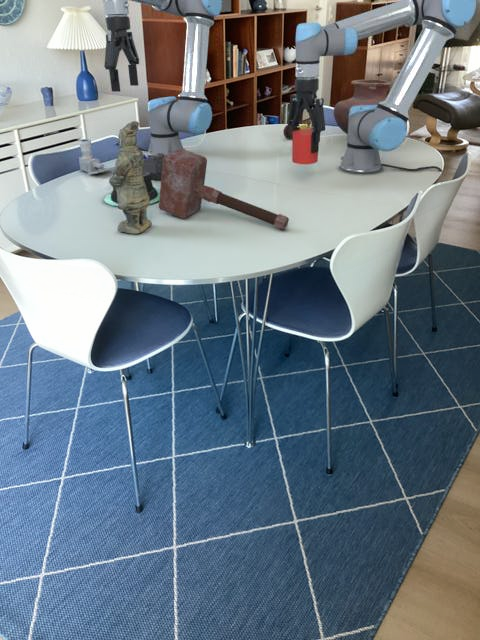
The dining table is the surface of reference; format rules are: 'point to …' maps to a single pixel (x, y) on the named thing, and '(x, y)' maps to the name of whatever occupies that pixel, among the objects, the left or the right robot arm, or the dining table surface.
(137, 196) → the statue
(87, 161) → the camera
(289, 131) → the figurine
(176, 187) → the sledgehammer
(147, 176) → the chocolate cake
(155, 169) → the toy
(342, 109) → the clay pot
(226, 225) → the dining table surface
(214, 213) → the dining table surface
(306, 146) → the canister
